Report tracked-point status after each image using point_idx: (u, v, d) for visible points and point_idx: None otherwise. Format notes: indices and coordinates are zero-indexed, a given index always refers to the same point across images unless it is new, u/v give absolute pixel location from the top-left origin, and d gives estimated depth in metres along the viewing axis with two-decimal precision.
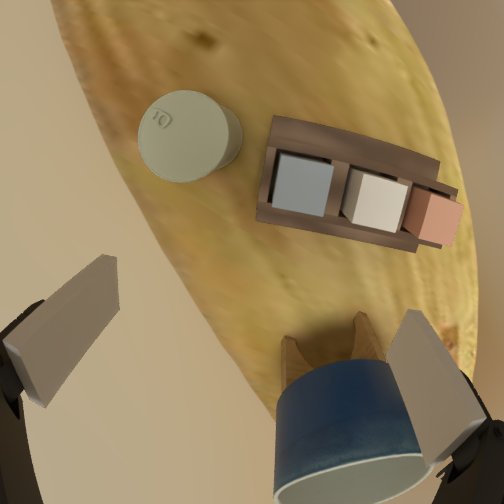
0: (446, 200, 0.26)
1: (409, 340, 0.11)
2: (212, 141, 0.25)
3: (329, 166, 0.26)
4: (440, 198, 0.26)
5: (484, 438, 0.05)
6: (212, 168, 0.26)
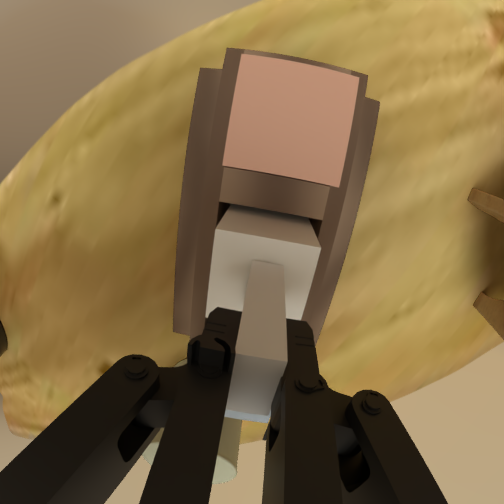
0: (234, 114, 0.11)
1: None
2: None
3: None
4: (230, 134, 0.11)
5: (283, 397, 0.07)
6: (219, 457, 0.20)
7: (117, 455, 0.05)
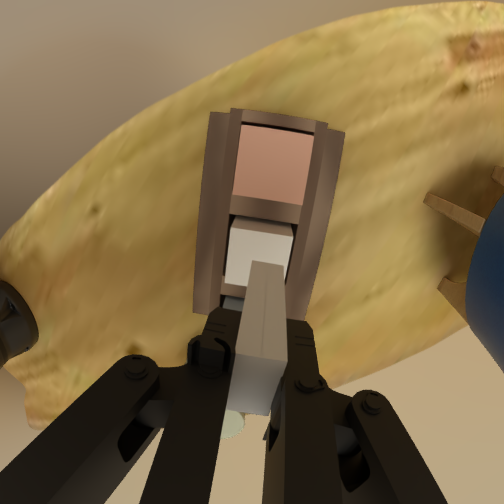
0: (238, 163, 0.20)
1: None
2: None
3: None
4: (236, 175, 0.20)
5: (283, 397, 0.07)
6: None
7: (117, 455, 0.05)
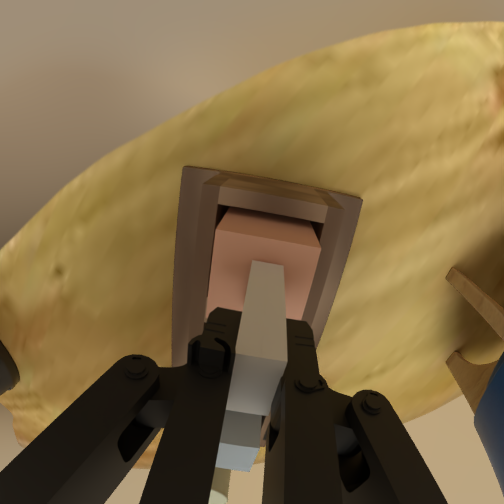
0: (212, 282, 0.15)
1: None
2: None
3: None
4: (210, 296, 0.15)
5: (283, 398, 0.07)
6: (213, 490, 0.22)
7: (116, 455, 0.05)
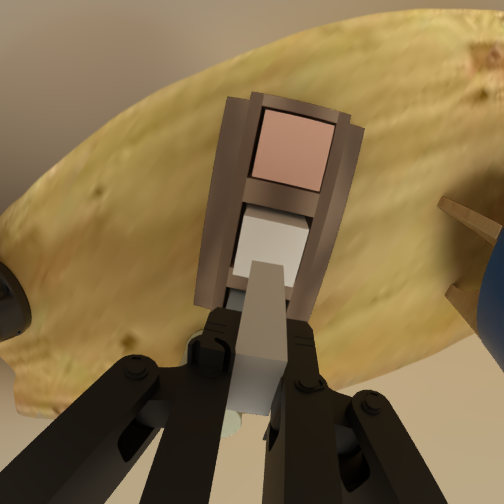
0: (260, 146, 0.20)
1: None
2: None
3: None
4: (257, 158, 0.20)
5: (283, 397, 0.07)
6: None
7: (116, 455, 0.05)
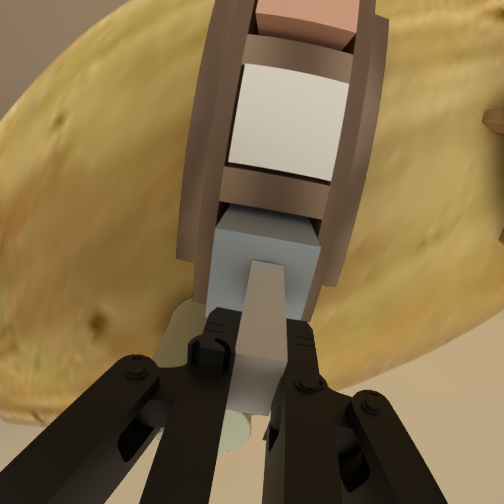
0: None
1: None
2: None
3: (217, 237, 0.14)
4: None
5: (283, 397, 0.07)
6: None
7: (116, 455, 0.05)
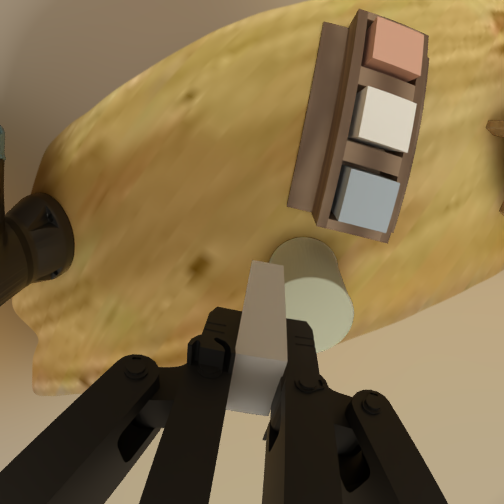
0: (376, 38, 0.19)
1: None
2: (319, 292, 0.26)
3: (351, 173, 0.24)
4: (375, 46, 0.20)
5: (283, 397, 0.07)
6: (345, 294, 0.26)
7: (116, 455, 0.05)
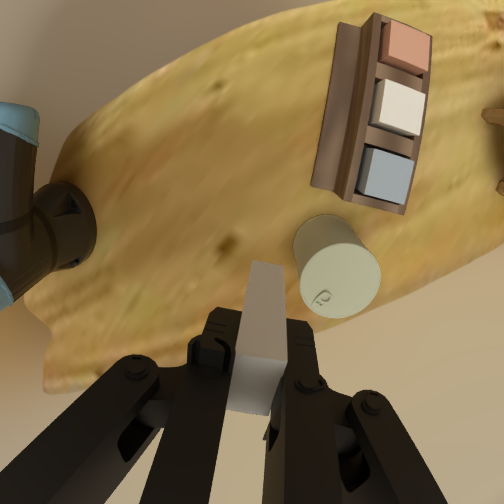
0: (391, 39, 0.22)
1: None
2: (351, 257, 0.29)
3: (374, 153, 0.27)
4: (390, 45, 0.22)
5: (283, 397, 0.07)
6: (373, 258, 0.29)
7: (116, 455, 0.05)
